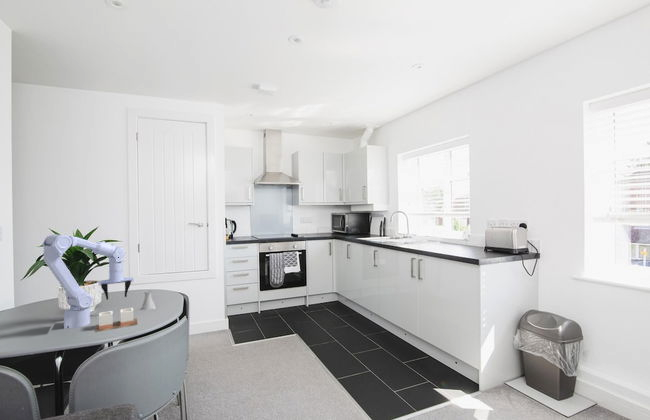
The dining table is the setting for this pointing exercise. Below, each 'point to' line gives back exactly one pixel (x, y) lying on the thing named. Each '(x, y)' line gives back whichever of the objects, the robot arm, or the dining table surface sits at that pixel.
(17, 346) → the dining table surface
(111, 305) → the dining table surface
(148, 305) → the flask
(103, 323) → the seated sleeve
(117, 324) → the pin board
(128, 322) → the sleeve
